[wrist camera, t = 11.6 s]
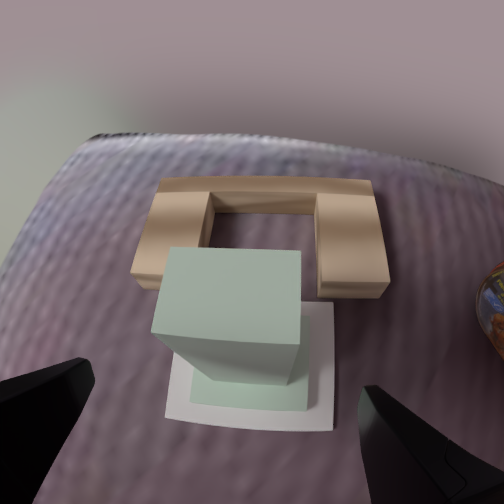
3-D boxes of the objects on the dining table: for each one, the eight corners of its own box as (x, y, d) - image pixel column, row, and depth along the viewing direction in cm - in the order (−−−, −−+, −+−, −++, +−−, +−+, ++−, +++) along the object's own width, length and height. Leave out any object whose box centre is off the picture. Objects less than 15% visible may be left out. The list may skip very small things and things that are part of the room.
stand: (378, 298, 23) (390, 282, 21) (143, 288, 25) (130, 272, 23) (364, 201, 29) (370, 180, 26) (169, 198, 31) (161, 177, 28)
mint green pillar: (305, 411, 19) (345, 397, 8) (192, 402, 19) (104, 372, 9) (308, 320, 22) (337, 215, 12) (204, 314, 23) (148, 212, 13)
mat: (331, 430, 18) (332, 430, 18) (166, 417, 19) (164, 417, 19) (332, 304, 23) (333, 302, 23) (184, 297, 24) (183, 295, 24)
